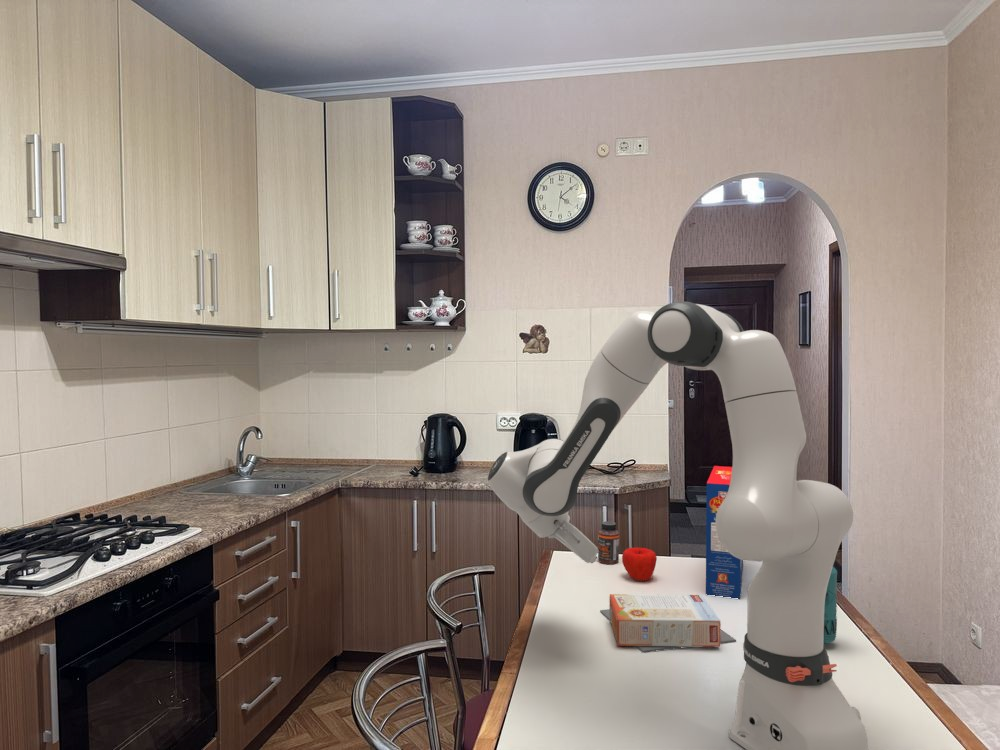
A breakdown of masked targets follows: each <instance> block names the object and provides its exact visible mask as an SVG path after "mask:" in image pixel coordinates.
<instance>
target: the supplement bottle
mask: <svg viewBox="0 0 1000 750" xmlns="http://www.w3.org/2000/svg"><path fill="white" fill-rule="evenodd" d="M597 532H598V535H597V541H598V542H597V543H598V544H597V548H598V550H599V552H598V553H597V559H598V560H597V561H598V562H600V564H604V565H605V564H606V565H614V564H617V563H619V561H620V560H619V558H620V557H619V555H620V554H619V553H620V532H619V530H617V526H616V522H614V521H608V520H607V521H602V522H601V528H600V529H599V530H598V531H597Z"/></svg>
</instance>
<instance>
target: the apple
mask: <svg viewBox="0 0 1000 750" xmlns="http://www.w3.org/2000/svg"><path fill="white" fill-rule="evenodd" d="M621 556H622V557H621V559H622V565H623V567H624V570H625V571H626V572H627V574H628V576H629V577H630V578H631V579H633V580H635V581H639V582H642V581H643V582H646V580H647V581H649V580H650V579H651V578H652V576H653V574H654V572H655V570H656V569H655V568H656V563H657V560H658V557H657V554H656V553H655V551H654V550H652V549H648V548H646V547H628V548H626V549H625V550H624V551H623V552H622V555H621Z"/></svg>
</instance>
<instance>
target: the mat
mask: <svg viewBox="0 0 1000 750" xmlns="http://www.w3.org/2000/svg"><path fill="white" fill-rule="evenodd" d="M609 609H610V608H608V609H600V613H601V615H603V616H604V617H605V618H606V619H607V620H608V621H609V622H610V623H611V621H610V616H609ZM720 632H721V644H727V642H730V643H736V642H737V639H736V638H734V637H733V636H731V635H730V634H729V633H727V632H725V631H724V630H723V629H722V628H720ZM637 647H638V648H639V649H638V648H637ZM637 647H636V648H637V649H638V650H639V651H640V652H641V653H643V652H644V653H649V652H648V651H653V652H657V651H656V650H661V651H665V650H664V649H670V650H674V649H673V648H678V649H682V648H681V647H686V646H637Z"/></svg>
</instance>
